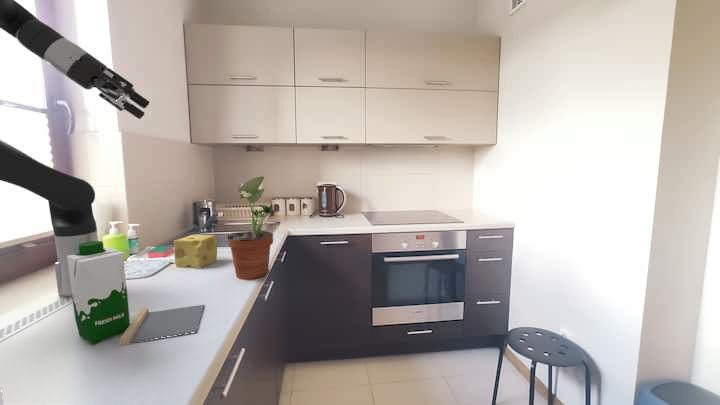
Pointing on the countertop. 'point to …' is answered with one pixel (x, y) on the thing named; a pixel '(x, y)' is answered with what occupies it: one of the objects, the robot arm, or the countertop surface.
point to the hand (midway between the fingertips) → (144, 111)
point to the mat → (162, 324)
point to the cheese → (195, 251)
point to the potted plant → (252, 238)
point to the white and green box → (99, 291)
